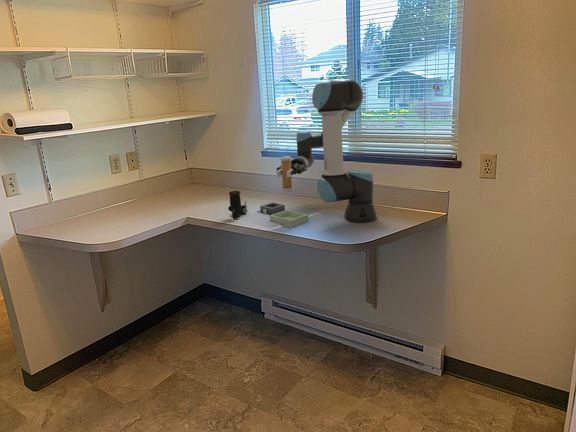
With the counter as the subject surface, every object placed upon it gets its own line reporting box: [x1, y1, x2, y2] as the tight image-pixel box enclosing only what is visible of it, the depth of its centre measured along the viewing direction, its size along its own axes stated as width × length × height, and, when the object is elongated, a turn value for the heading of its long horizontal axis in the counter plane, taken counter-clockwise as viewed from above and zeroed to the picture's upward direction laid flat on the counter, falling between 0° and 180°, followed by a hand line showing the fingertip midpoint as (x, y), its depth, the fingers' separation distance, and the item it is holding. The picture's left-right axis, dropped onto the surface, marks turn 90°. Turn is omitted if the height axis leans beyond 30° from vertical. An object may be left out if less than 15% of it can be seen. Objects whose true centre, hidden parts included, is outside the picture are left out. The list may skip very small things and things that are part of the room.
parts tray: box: [269, 209, 309, 229], centre depth 214 cm, size 14×12×4 cm
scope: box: [228, 190, 248, 221], centre depth 223 cm, size 8×14×10 cm
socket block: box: [256, 201, 287, 216], centre depth 231 cm, size 12×12×4 cm
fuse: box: [280, 155, 293, 193], centre depth 208 cm, size 5×5×16 cm
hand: (282, 174), depth 203 cm, fingers closed on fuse, 4 cm apart
